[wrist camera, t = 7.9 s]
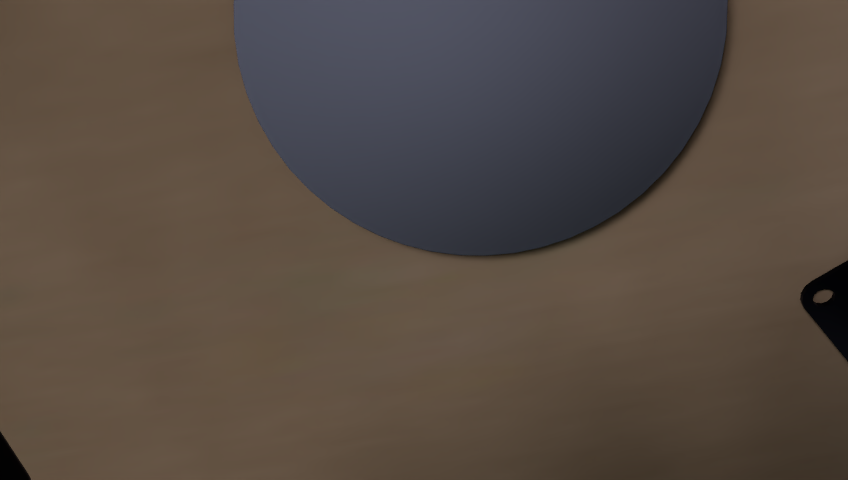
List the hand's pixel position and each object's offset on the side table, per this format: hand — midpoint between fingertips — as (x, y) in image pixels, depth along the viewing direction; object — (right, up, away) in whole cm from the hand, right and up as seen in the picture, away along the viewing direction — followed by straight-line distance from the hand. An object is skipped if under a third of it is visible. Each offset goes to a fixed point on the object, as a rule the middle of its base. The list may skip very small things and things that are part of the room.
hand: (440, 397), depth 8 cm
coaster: (+1, +6, +9) cm, 11 cm away
